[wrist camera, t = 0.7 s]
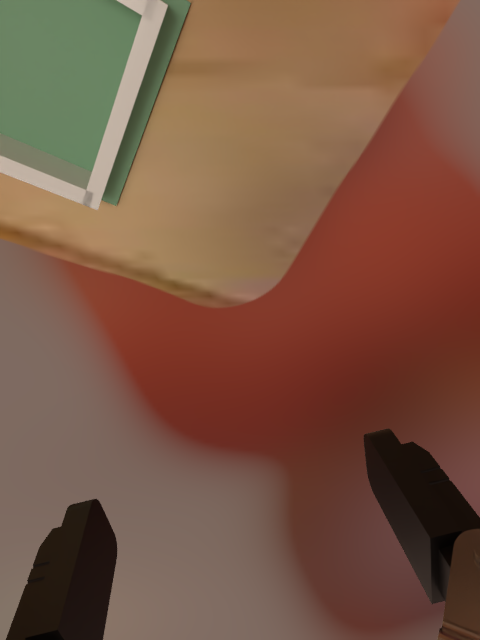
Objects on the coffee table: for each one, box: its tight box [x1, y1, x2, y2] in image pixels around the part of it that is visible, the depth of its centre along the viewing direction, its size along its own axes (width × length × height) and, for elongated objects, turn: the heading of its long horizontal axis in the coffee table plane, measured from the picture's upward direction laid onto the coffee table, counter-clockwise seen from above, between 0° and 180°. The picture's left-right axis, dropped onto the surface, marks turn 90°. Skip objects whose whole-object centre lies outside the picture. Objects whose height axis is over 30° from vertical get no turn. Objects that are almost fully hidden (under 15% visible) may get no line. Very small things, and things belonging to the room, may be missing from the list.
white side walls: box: [0, 0, 168, 210], centre depth 28 cm, size 12×14×4 cm
